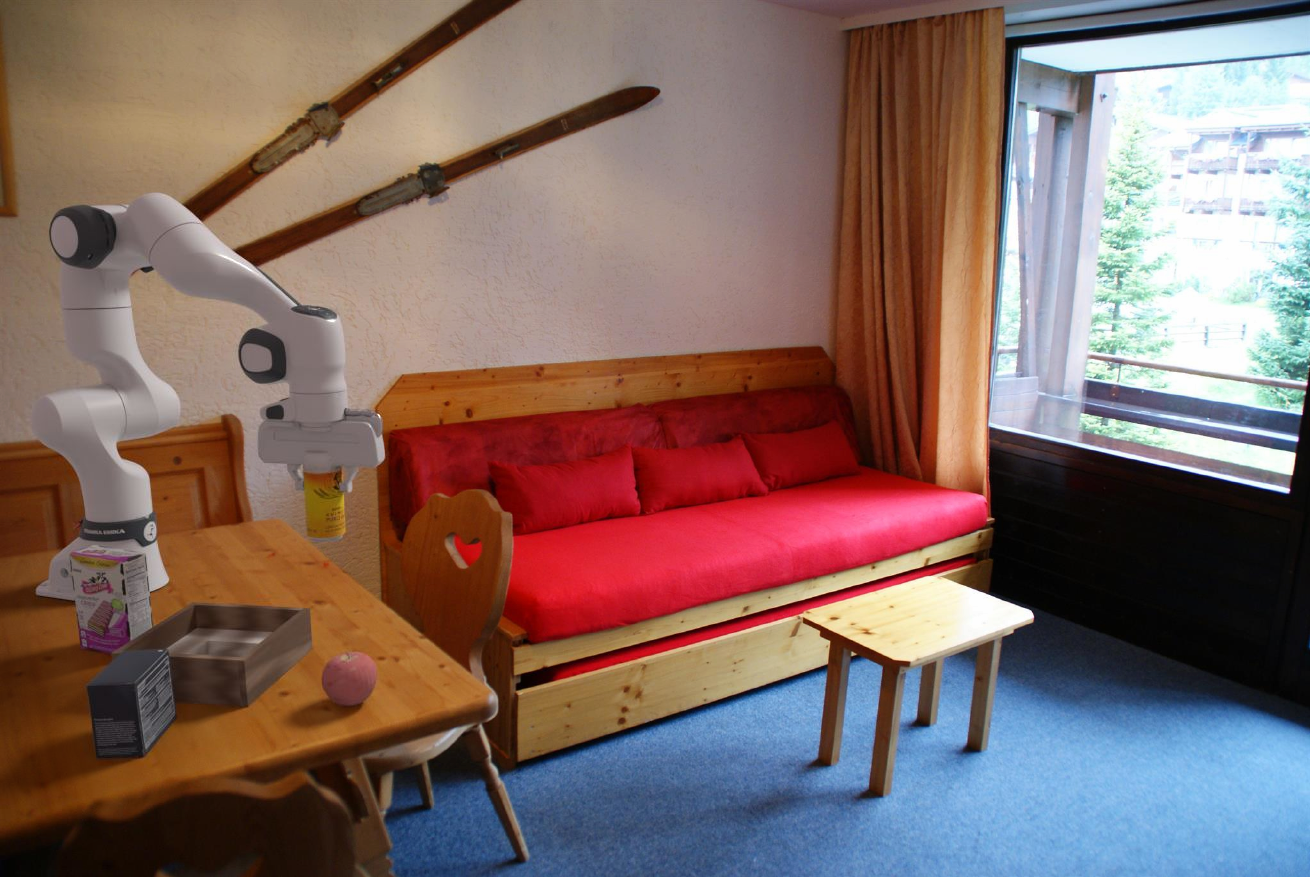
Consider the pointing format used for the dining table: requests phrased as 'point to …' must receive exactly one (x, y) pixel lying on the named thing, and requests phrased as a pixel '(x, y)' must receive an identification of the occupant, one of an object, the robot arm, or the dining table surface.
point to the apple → (349, 678)
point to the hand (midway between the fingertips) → (323, 490)
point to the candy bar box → (110, 596)
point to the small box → (131, 703)
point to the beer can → (323, 498)
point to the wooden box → (228, 649)
